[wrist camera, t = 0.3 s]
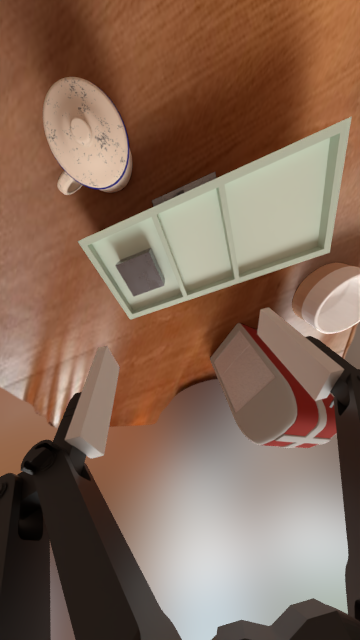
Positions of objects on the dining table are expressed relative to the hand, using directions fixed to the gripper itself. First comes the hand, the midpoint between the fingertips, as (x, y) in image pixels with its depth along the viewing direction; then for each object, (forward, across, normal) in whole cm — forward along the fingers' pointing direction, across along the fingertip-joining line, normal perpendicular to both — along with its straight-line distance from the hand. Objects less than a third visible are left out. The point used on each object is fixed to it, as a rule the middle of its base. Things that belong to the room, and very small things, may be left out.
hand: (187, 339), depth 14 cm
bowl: (+27, +42, -18) cm, 53 cm away
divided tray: (+19, +8, +3) cm, 21 cm away
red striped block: (+27, +20, -34) cm, 47 cm away
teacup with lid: (+27, -7, +16) cm, 33 cm away
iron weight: (+20, -4, +1) cm, 21 cm away
